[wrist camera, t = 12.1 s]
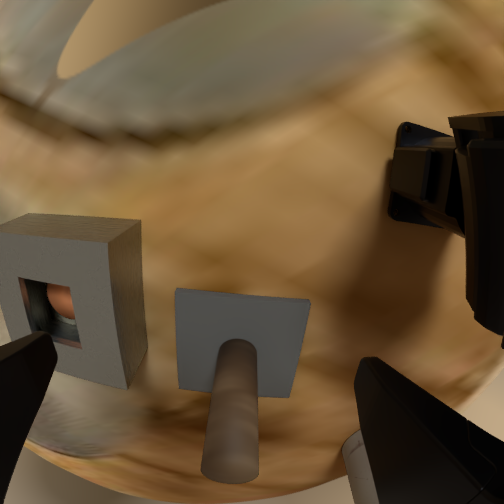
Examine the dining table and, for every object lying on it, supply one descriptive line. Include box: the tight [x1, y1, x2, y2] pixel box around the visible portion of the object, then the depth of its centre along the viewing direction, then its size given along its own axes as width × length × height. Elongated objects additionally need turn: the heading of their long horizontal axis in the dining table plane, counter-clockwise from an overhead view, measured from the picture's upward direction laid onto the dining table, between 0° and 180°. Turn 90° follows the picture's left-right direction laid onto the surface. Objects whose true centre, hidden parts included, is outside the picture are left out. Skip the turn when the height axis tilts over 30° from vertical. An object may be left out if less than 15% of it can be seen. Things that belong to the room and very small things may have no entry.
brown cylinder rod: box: [201, 339, 259, 484], centre depth 16 cm, size 3×3×10 cm
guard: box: [0, 213, 148, 390], centre depth 18 cm, size 10×10×5 cm
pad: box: [175, 288, 311, 398], centre depth 21 cm, size 9×9×1 cm
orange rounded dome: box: [47, 283, 75, 319], centre depth 18 cm, size 3×3×2 cm
